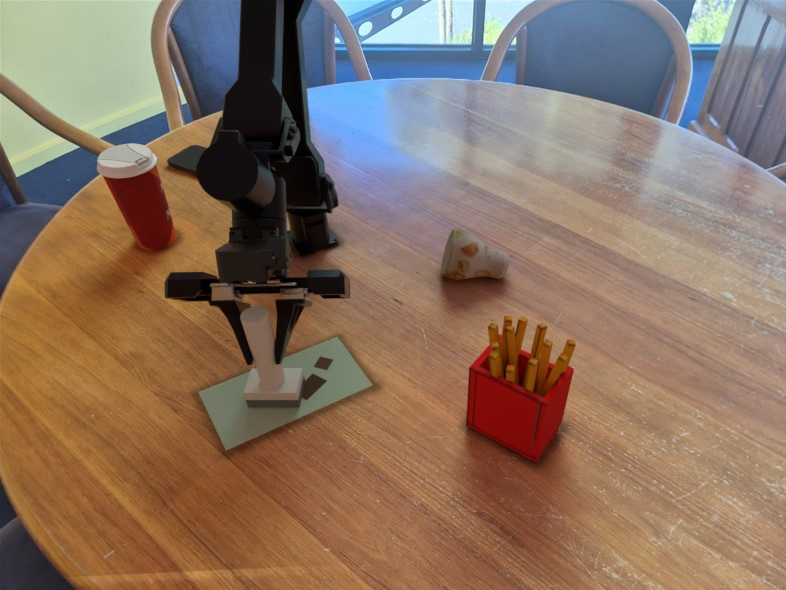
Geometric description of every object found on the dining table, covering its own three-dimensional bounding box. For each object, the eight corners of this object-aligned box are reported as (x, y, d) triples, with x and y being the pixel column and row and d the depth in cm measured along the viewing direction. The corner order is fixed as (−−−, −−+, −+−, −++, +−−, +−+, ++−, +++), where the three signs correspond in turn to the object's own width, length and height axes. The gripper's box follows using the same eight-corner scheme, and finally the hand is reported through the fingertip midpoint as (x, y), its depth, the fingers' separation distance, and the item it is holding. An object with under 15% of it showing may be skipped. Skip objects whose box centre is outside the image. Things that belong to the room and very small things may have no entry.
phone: (231, 183, 105) (163, 161, 109) (232, 187, 106) (165, 165, 110) (259, 164, 110) (193, 143, 114) (260, 168, 110) (195, 147, 114)
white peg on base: (247, 407, 72) (219, 327, 63) (255, 382, 75) (229, 302, 66) (299, 407, 72) (278, 327, 63) (305, 381, 75) (286, 302, 66)
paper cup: (195, 233, 96) (166, 149, 86) (158, 260, 91) (123, 174, 81) (156, 220, 98) (123, 136, 88) (118, 245, 93) (79, 160, 83)
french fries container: (495, 390, 76) (504, 304, 66) (562, 424, 72) (582, 338, 62) (464, 429, 71) (468, 343, 61) (534, 466, 68) (550, 381, 58)
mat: (198, 394, 74) (197, 391, 73) (337, 338, 81) (337, 335, 81) (226, 452, 68) (225, 450, 68) (373, 387, 75) (372, 384, 75)
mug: (514, 291, 89) (485, 249, 82) (455, 304, 93) (422, 265, 86) (517, 250, 93) (489, 207, 85) (459, 265, 97) (428, 224, 90)
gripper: (137, 207, 59) (143, 370, 59) (335, 205, 61) (340, 364, 61) (183, 229, 70) (187, 366, 71) (349, 227, 72) (352, 361, 72)
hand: (264, 364), depth 68 cm, fingers closed on white peg on base, 3 cm apart
